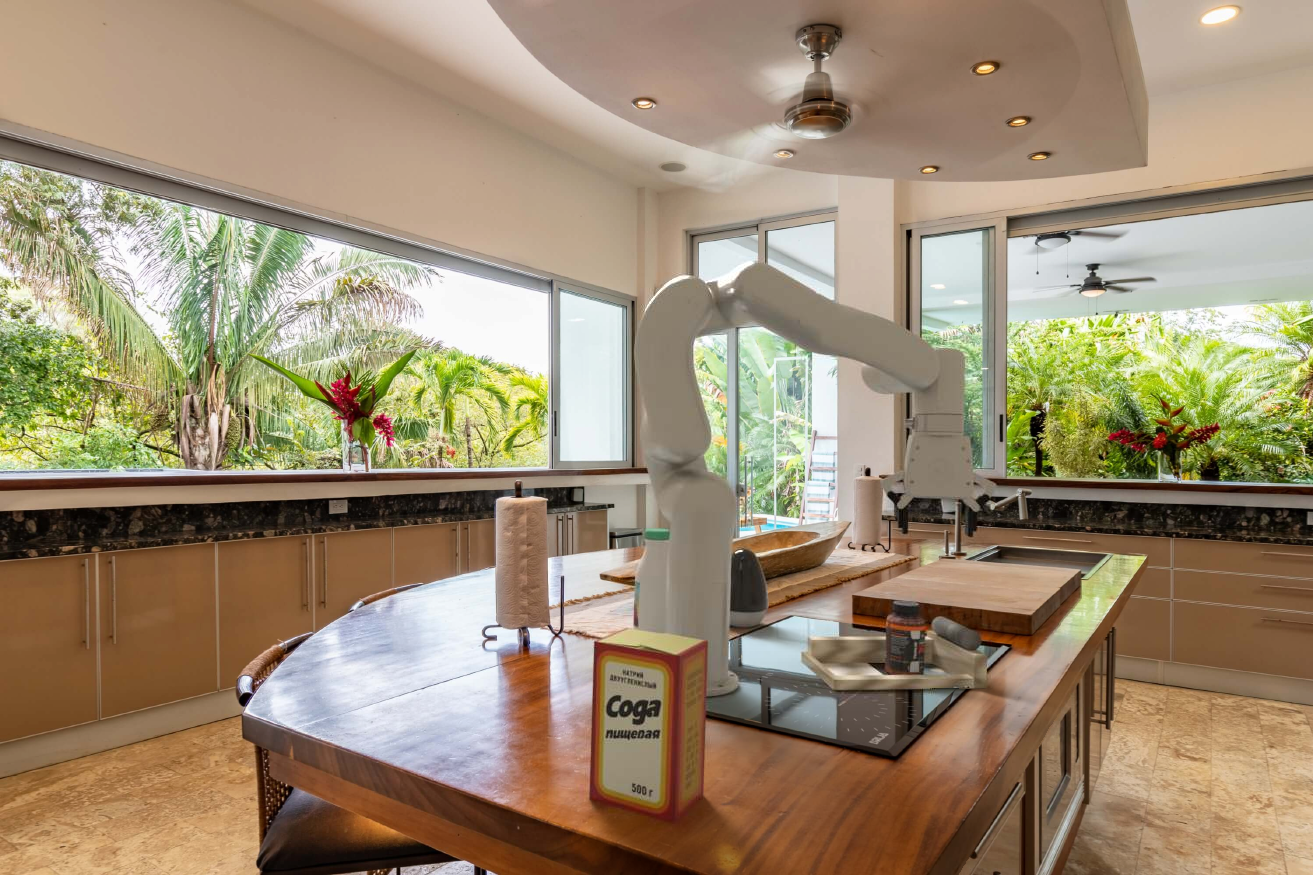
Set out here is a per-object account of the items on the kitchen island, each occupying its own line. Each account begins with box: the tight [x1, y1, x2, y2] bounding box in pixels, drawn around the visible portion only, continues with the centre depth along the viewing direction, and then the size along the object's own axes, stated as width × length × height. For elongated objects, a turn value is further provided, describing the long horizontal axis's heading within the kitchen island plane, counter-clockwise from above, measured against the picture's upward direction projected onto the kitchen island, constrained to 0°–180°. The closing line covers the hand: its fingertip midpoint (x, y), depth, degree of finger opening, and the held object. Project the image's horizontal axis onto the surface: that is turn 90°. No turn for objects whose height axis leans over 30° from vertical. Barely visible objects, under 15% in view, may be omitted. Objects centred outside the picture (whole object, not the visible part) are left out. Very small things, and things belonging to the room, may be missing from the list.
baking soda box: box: [588, 627, 708, 824], centre depth 76 cm, size 10×6×16 cm
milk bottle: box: [632, 528, 670, 634], centre depth 137 cm, size 8×8×20 cm
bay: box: [800, 616, 988, 691], centre depth 121 cm, size 24×15×8 cm, turn 97°
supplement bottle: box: [884, 600, 926, 675], centre depth 121 cm, size 6×6×11 cm
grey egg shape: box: [729, 547, 769, 629], centre depth 152 cm, size 10×10×15 cm
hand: (936, 534), depth 120 cm, fingers open, 9 cm apart
